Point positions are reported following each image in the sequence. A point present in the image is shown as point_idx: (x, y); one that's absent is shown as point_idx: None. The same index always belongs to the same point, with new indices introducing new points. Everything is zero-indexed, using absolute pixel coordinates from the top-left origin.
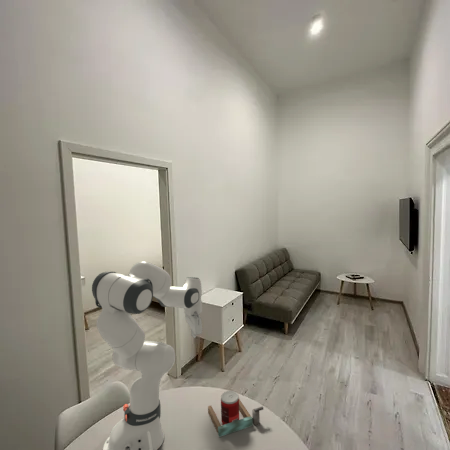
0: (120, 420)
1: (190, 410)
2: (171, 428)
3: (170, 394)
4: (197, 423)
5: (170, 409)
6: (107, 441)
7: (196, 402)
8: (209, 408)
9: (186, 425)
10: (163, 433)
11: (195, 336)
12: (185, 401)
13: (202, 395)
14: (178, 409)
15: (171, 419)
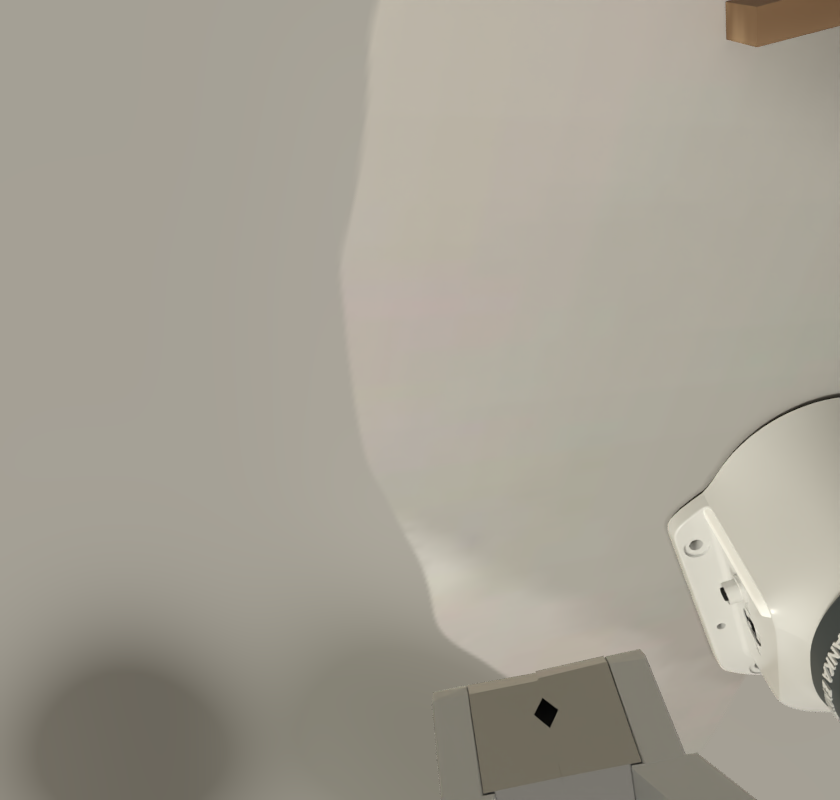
0: (822, 709)
1: (633, 216)
2: (779, 354)
3: (370, 399)
4: (815, 153)
5: (569, 380)
6: (755, 666)
7: (538, 157)
8: (796, 32)
9: (797, 246)
10: (830, 407)
11: (654, 685)
12: (497, 264)
13: (440, 87)
14: (588, 319)
15: (686, 363)
